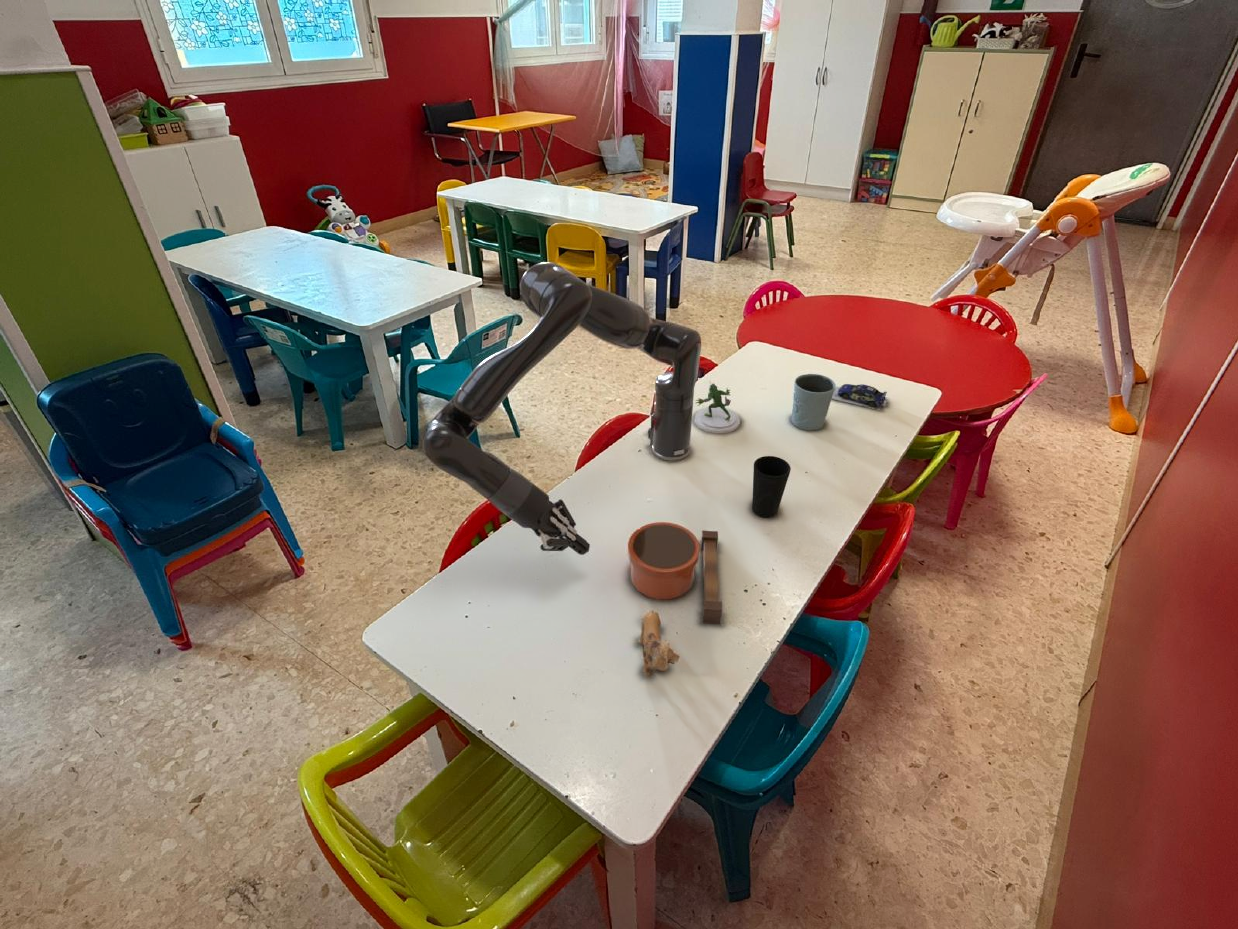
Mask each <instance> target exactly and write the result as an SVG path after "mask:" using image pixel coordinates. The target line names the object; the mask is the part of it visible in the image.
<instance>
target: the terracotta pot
mask: <svg viewBox="0 0 1238 929" xmlns="http://www.w3.org/2000/svg"><path fill="white" fill-rule="evenodd" d="M700 551H701V545H700V542H699V540H698V538H697V537H696V536H695V534H694V533H693V532H692V531H691V530H689V529H688V528H687V527H685V526H682V525H680V524H678V523H674V522H667V521H658V522H657V521H656V522H651V523H647V524H643V525H641V527H639V528H637V529H636V530H634V531H633V533H632V534H631V535H630V536H629V539H628V541H627V557H628V559H629V562H630V580H631V583H632V584H633V586H634V588H635V589H636V590H637V591H639V592H640V593H641V594H643V595H645V596H647V597H649V598H653V599H657V600H671V599H675V598H679V597H681V596H683V595H684V594H686V593H687V592H688V591H690V589H691V587H692V586H693V584H694V580H695V570H696V565H698V562H699V559H700Z"/></svg>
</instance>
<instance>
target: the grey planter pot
mask: <svg viewBox="0 0 1238 929" xmlns="http://www.w3.org/2000/svg"><path fill="white" fill-rule="evenodd" d="M793 385H794V386H793V391H794V392H793V398H792V400H793V401H792V410H791V411H792V412H791V423H792V424H793V426H795V427H797V428H798V429H801V430H805V431H818V430H820V429H822V428H823V427H824V425H825V422H826V417H827V415H828V413H829V410H830V406H831V401H832V396H833V393H834V390H835V388H837V386H836V382H835V381H834V380H833V379H831V378H829V377H828V376H826V375H822V374H819V373H806V374H801V375H798V376H797V377H796V378H795V379H794V384H793Z"/></svg>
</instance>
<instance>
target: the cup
mask: <svg viewBox="0 0 1238 929" xmlns="http://www.w3.org/2000/svg"><path fill="white" fill-rule="evenodd" d="M791 468H792V467H791V464H790V463H789V462H788V461H786V460H785V459H783V458H781V457H778V456H775V455H774V456H773V455H764V456H761V457H758V458H756V459H755V460H754V462H753V473H752V474H753V476H752V500H751V505H752V506H751V510H752V512H753V514H755V515H756V516H758V517H760V518H764V519H770V518H773V517H776V516H777V514H778V511H779V509H780V505H781V502H782V499H783V496H784V493H785V491H786V490H785V489H786V486H787V483H788V480H789V477H790V473H791V470H792V469H791Z"/></svg>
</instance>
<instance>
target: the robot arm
mask: <svg viewBox="0 0 1238 929" xmlns="http://www.w3.org/2000/svg"><path fill="white" fill-rule="evenodd" d="M519 292H520V296H521V299H522V301H523V303H524V305H525V306H526V307H527V309H528V310H530V312H532V313H533V314H534V315H535V316H537V317H538V318H540V319H539V321H538V322H537V324H535V326H534V327H533V329H531V331H530V332H529V333H527V334H526V335H525V336H524V337H522V338H521V339H520V340H518V341H517V342H515V343H513V344H511V345H509V346H507V347H506V348H505V347H504V348H503V349H501V350H499V351H496V352H494V353H493V354H491V355H489V356H488V357H486V358H485V359H484V360H482V361H481V362H480V363H479V364H478V365H476V367H475V368H473V370H472V371H471V373H469V375H468V377H467V378H466V379H465V381H464V382H463V383H462V384H461V385H460V387H459V388H458V389H457V391H456V393H455V394H454V396H453V397H452V398H451V399H450V400H449V401H448V402H447V403H446V404H445V405H444V406H443V408H442V409H441V410H440V411H439V412H437V413H436V415H435V416H434V417H433V418H432V419H431V420H430V422H429V423H428V424H427V426H426V428H425V430H424V431H423V435H422V441H421V448H422V451H423V454H424V456H425V458H426V459H428V461H429V462H430V463H432V465H434V466H435V467H436V468H438V469H439V470H440V471H441V470H442V471H443V472H445V473H446V474H448V475H449V476H452V477H453V478H455V479H458V480H459V481H461V482H463V483H465V484H467V486H469V487H470V488H471V489H472V490H474V491H475V492H476V493H478V494H479V495H480V496H482V497H483V498H484V499H486V500H487V501H488V502H489V503H490V504H491V505H492V506H493V507H495V508H496V509H497V510H498V511H500V512H501V513H503V515H505V516H507V517H508V518H509V519H510V520H512V521H513V522H515V524H517V525H519V526H520V527H521V528H523V529H530V530H532V531H533V532H534V534H535V535H536V536H537V537H540V539H541V542H542V544H540V545H539V546H540V550H541V551H543V552H563V551H565V550H566V549H568V548H570V549H572V550H573V551H574V552H575V553H577V554H578V555H580V556H584V555H585V554H587V553H589V551H590V547H591V544H590V543H589V542H588V541H587V540H586V539H585V538H584V537H582V535H579V534H578V530H576V528H575V527H576V526H577V523H576V521H575V519H574V518H573V516H572V514H571V512H570V510H569V509H568V507H567V505H566V504H565V502H564V501H563V500H562V499H561V498H560V499H558V500H557V501H555V502H553V501H551V500H550V496H549V495H548V493H546V492H545V491H543V490H542V489H541V488H539V487H538V486H537V485H536V484H535V483H534V482H532V481H531V480H529V479H528V478H527V477H526V476H524V475H523V474H522V473H520V472H518V471H517V470H515V469H513V468H512V467H511V466H509V465H508V464H506V463H505V462H504V461H503V460H501V459H500V458H499V457H497V455H495V454H493V452H492V453H491V452H490V451H487V450H482V448H480V447H479V446H477V445H476V444H475V443H473V442H472V441H471V440H470V439H469V438H470V437H471V436H472V434H474V432H475V430H476V429H477V428H478V427H479V426H480V424H483V423H486V421H488V420H489V419H490V417H492V415H493V414H494V413H495V412H496V410H497V409H498V408H499V407H500V406H501V404H502V403H503V402H504V400H505V399H506V398H507V397H508V395H509V394H510V393H511V391H512V390H513V389H514V388H515V387H516V385H518V384H519V382H521V380H522V379H523V378H524V377H525V376H526V375H527V374H528V373H529V372H530V371H531V370H533V369H534V368H535V367H536V366H537V365H538V364H539V363H540V362H542V360H544V359H545V358H546V357H547V356H548V355H549V354H550V353H552V351H553V350H554V349H556V348H557V347H558V346H559V345H560V344H561V343H562V342H563V341H564V340H565V339H566V338H567V337H569V335H571V333H573V332H574V331H575V330H576V329H577V328H578V327H579V328H581V329H583V330H584V331H586V332H587V333H589V334H591V335H592V336H594V337H595V338H596V339H599V340H601V341H602V342H604V343H606V344H609V345H612V346H615V347H618V348H621V349H625V350H635V349H636V350H639V351H640V352H642V353H644V354H646V355H647V356H649V357H650V358H652V359H653V360H655V361H657V362H659V363H661V364H664V365H667V366H669V367H672V368H673V371H667V372H663V373H660V374H659V375H658V376H657V377H656V379H655V382H654V400H653V401H654V404H653V406H654V407H653V413H652V414H651V416H650V428H648V429H647V439H649V440H650V442H649V443H650V444H649V448H650V449H652V453H653V455H654V456H655V457H656V458H658V459H661V460H663V461H668V462H676V461H681V460H684V459H686V458H687V457H688V456H689V455H690V452H691V437H692V423H693V408H694V396H695V394H694V393H695V388H696V387H695V386H696V383H697V379H698V377H699V376H698V375H699V368H700V362H701V361H700V360H701V355H702V354H701V353H702V338H701V337H702V336H701V334H700V333H699V331H697V330H696V329H693V328H690V327H687V326H685V325H681V324H678V323H676V322H675V323H674V322H671V321H666V320H661V319H657V318H653V317H651V316H650V314H649V313H648V312H647V310H646V309H645V308H644V307H643V306H641V305H640V304H638V303H635V302H634V301H632V300H630V299H628V298H626V297H623V296H620V295H618V294H615V293H613V292H611V291H607V290H606V289H602V288H599V287H597V286H593V285H591V284H588V283H586V282H585V281H584V280H582V279H581V278H579V277H578V276H577V275H575V274H574V273H572V272H571V271H569V270H568V269H567V268H564V266H562V265H560V264H558V263H556V262H550V261H543V262H539V263H536V264H534V265H532V266H530V267H529V268H528V269H527V270H526V271H525V272H524V274H523V275H522V277H521V280H520V284H519Z"/></svg>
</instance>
